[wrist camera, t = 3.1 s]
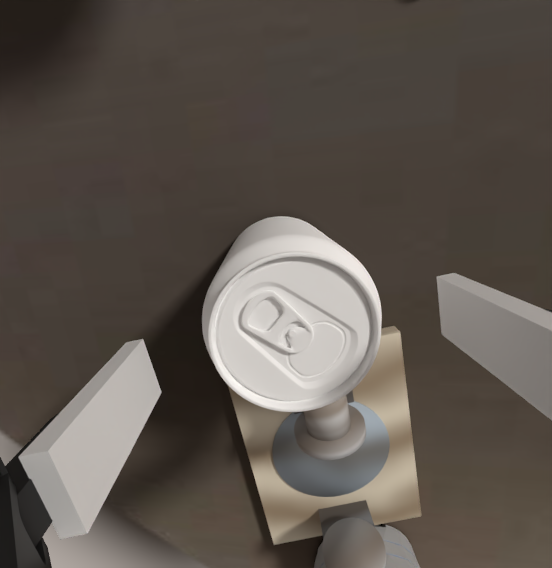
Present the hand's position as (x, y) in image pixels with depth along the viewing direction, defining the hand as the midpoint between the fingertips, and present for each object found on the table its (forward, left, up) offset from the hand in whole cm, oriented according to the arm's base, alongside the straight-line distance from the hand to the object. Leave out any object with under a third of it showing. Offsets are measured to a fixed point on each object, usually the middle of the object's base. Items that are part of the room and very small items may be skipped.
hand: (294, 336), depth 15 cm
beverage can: (0, 0, -11) cm, 11 cm away
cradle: (+16, +1, -11) cm, 19 cm away
